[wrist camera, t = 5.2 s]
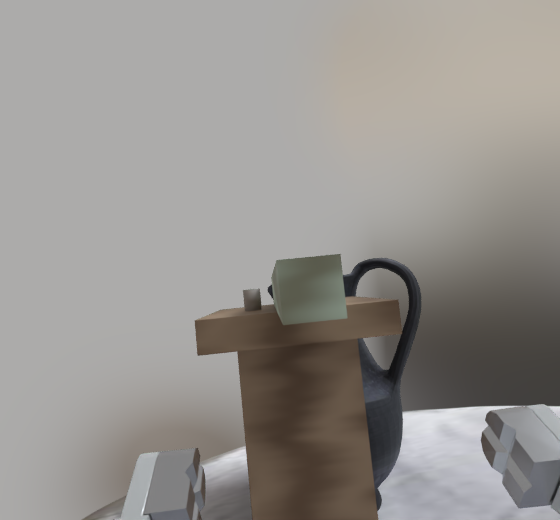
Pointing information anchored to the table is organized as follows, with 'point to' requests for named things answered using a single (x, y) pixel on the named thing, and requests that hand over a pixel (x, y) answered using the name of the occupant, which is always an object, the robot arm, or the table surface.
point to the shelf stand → (303, 405)
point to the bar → (309, 289)
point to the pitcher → (384, 375)
